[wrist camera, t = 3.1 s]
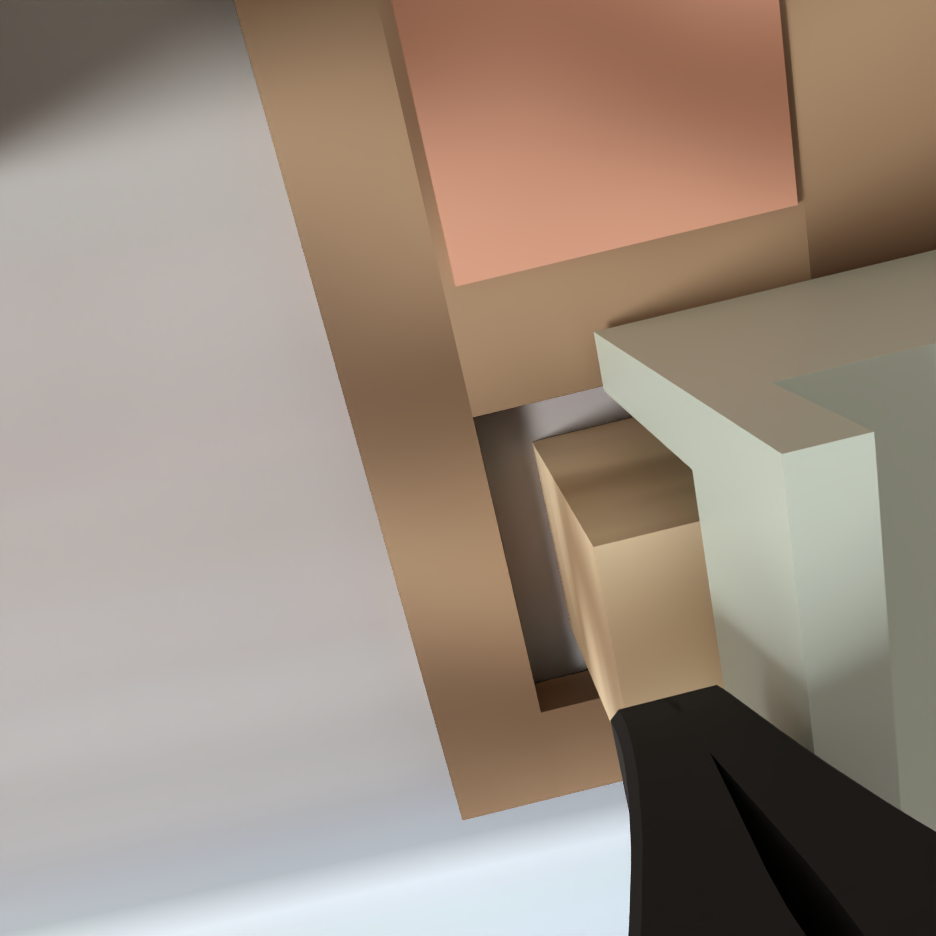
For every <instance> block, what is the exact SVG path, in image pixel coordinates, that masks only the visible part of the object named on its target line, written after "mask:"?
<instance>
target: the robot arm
mask: <svg viewBox="0 0 936 936" xmlns="http://www.w3.org/2000/svg"><path fill="white" fill-rule="evenodd" d="M610 721H611V726H612V731H613V736H614V741H615V745H616V750H617V755H618V760H619V765H620V770H621V774H622V779H623V784H624V789H625V794H626V799H627V803H628V808H629V814H630V834H631V884H630V915H629V936H936V831H934V830H932V829H931V828H929V827H927V826H926V825H924V824H922V823H921V822H919V821H917V820H916V819H914V818H912V817H911V816H909V815H907V814H906V813H904V812H903V811H901V810H899V809H898V808H896V807H895V806H893V805H891V804H890V803H888V802H886V801H885V800H883V799H882V798H880V797H879V796H877V795H876V794H874V793H873V792H871V791H869V790H868V789H866V788H865V787H863V786H862V785H860V784H859V783H857V782H856V781H854V780H853V779H851V778H850V777H848V776H847V775H845V774H843V773H842V772H840V771H839V770H837V769H836V768H834V767H833V766H831V765H830V764H828V763H827V762H825V761H824V760H822V759H821V758H820V757H818V756H817V755H815V754H814V753H812V752H811V751H809V750H808V749H806V748H805V747H804V746H802V745H801V744H799V743H798V742H797V741H795V740H794V739H792V738H791V737H789V736H788V735H787V734H785V733H784V732H782V731H781V730H780V729H778V728H777V727H775V726H774V725H773V724H771V723H770V722H769V721H767V720H766V719H764V718H763V717H762V716H760V715H759V714H758V713H756V712H755V711H753V710H752V709H751V708H749V707H748V706H747V705H745V704H744V703H743V702H741V701H740V700H739V699H737V698H736V697H734V696H733V695H732V694H730V693H729V692H728V691H726V690H724V689H723V688H721V687H720V686H718V685H714V686H710V687H706V688H702V689H698V690H694V691H690V692H686V693H682V694H678V695H674V696H670V697H666V698H662V699H658V700H654V701H650V702H646V703H642V704H638V705H634V706H630V707H627V708H623V709H619V710H618V711H617V712H616V714H615V715H614V716H613V718H612V719H611V720H610Z"/></svg>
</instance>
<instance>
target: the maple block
mask: <svg viewBox="0 0 936 936" xmlns="http://www.w3.org/2000/svg"><path fill="white" fill-rule="evenodd" d="M532 444H533V449H534V454H535V459H536V463H537V468H538V473H539V478H540V483H541V487H542V492H543V497H544V502H545V506H546V511H547V516H548V521H549V525H550V530H551V535H552V540H553V545H554V549H555V554H556V559H557V564H558V568H559V573H560V578H561V583H562V587H563V592H564V597H565V602H566V607H567V611H568V616H569V621H570V626H571V630H572V632H573V634H574V637H575V639H576V641H577V644H578V646H579V649H580V651H581V653H582V656H583V658H584V660H585V663H586V665H587V668H588V670H589V672H590V675H591V677H592V680H593V682H594V684H595V687H596V689H597V691H598V694H599V696H600V699H601V701H602V703H603V706H604V708H605V710H606V713H607V715H608V718H609V720H611V719H612V718H613V716H614V715H615V714H616V712H617V711H618V710H619V709H623V708H627V707H630V706H634V705H638V704H642V703H646V702H650V701H654V700H658V699H662V698H666V697H670V696H674V695H678V694H682V693H686V692H690V691H694V690H698V689H702V688H706V687H710V686H714V685H718V686H720V687H721V688H723V689H724V684H723V677H722V670H721V663H720V656H719V650H718V643H717V636H716V629H715V622H714V615H713V608H712V602H711V595H710V588H709V581H708V574H707V567H706V560H705V554H704V547H703V540H702V533H701V526H700V519H699V512H698V506H697V499H696V492H695V485H694V478H693V471H692V469H691V468H690V467H689V466H688V465H686V464H685V463H684V462H683V461H682V460H681V459H680V458H679V457H678V456H676V455H675V454H674V453H673V452H672V451H671V450H670V449H669V448H667V447H666V446H665V445H664V444H663V443H662V442H661V441H660V440H659V439H657V438H656V437H655V436H654V435H653V434H652V433H651V432H650V431H648V430H647V429H646V428H645V427H644V426H643V425H642V424H641V423H640V422H638V421H637V420H636V419H635V418H634V417H633V418H628V419H624V420H620V421H616V422H612V423H608V424H604V425H599V426H595V427H591V428H587V429H583V430H579V431H575V432H571V433H566V434H562V435H558V436H554V437H550V438H546V439H542V440H538V441H533V442H532ZM610 722H611V721H610Z"/></svg>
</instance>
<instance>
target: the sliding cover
mask: <svg viewBox="0 0 936 936" xmlns="http://www.w3.org/2000/svg"><path fill="white" fill-rule="evenodd" d="M594 337H595V343H596V348H597V354H598V360H599V365H600V371H601V377H602V382H603V388H604V391H605V392H606V393H607V394H608V395H609V396H610V397H612V398H613V399H614V400H615V401H616V402H617V403H618V404H619V405H621V406H622V407H623V408H624V409H625V410H626V411H627V412H628V413H629V414H631V415H632V416H633V417H634V418H635V419H636V420H637V421H638V422H640V423H641V424H642V425H643V426H644V427H645V428H646V429H647V430H648V431H650V432H651V433H652V434H653V435H654V436H655V437H656V438H657V439H659V440H660V441H661V442H662V443H663V444H664V445H665V446H666V447H667V448H669V449H670V450H671V451H672V452H673V453H674V454H675V455H676V456H678V457H679V458H680V459H681V460H682V461H683V462H684V463H685V464H686V465H688V466H689V467H690V468H691V469H692V471H693V478H694V485H695V492H696V499H697V506H698V512H699V519H700V526H701V533H702V540H703V547H704V554H705V560H706V567H707V574H708V581H709V588H710V595H711V602H712V608H713V615H714V622H715V629H716V636H717V643H718V650H719V656H720V663H721V670H722V677H723V684H724V690H726V691H728V692H729V693H730V694H732V695H733V696H734V697H736V698H737V699H739V700H740V701H741V702H743V703H744V704H745V705H747V706H748V707H749V708H751V709H752V710H753V711H755V712H756V713H758V714H759V715H760V716H762V717H763V718H764V719H766V720H767V721H769V722H770V723H771V724H773V725H774V726H775V727H777V728H778V729H780V730H781V731H782V732H784V733H785V734H787V735H788V736H789V737H791V738H792V739H794V740H795V741H797V742H798V743H799V744H801V745H802V746H804V747H805V748H806V749H808V750H809V751H811V752H812V753H814V754H815V755H817V756H818V757H820V758H821V759H822V760H824V761H825V762H827V763H828V764H830V765H831V766H833V767H834V768H836V769H837V770H839V771H840V772H842V773H843V774H845V775H847V776H848V777H850V778H851V779H853V780H854V781H856V782H857V783H859V784H860V785H862V786H863V787H865V788H866V789H868V790H869V791H871V792H873V793H874V794H876V795H877V796H879V797H880V798H882V799H883V800H885V801H886V802H888V803H890V804H891V805H893V806H895V807H896V808H898V809H899V810H901V811H903V812H904V813H906V814H907V815H909V816H911V817H912V818H914V819H916V820H917V821H919V822H921V823H922V824H924V825H926V826H927V827H929V828H931V829H932V830H934V831H936V250H933V251H928V252H924V253H920V254H916V255H912V256H908V257H903V258H899V259H895V260H891V261H887V262H883V263H878V264H874V265H870V266H866V267H862V268H858V269H853V270H849V271H845V272H841V273H837V274H833V275H828V276H824V277H820V278H816V279H812V280H808V281H803V282H799V283H795V284H791V285H787V286H783V287H778V288H774V289H770V290H766V291H762V292H758V293H753V294H749V295H745V296H741V297H737V298H733V299H728V300H724V301H720V302H716V303H712V304H708V305H703V306H699V307H695V308H691V309H687V310H683V311H678V312H674V313H670V314H666V315H662V316H658V317H653V318H649V319H645V320H641V321H637V322H633V323H628V324H624V325H620V326H616V327H612V328H608V329H603V330H599V331H595V332H594Z"/></svg>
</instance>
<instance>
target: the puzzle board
mask: <svg viewBox="0 0 936 936" xmlns="http://www.w3.org/2000/svg"><path fill="white" fill-rule="evenodd" d="M233 1H234V5H235V8H236V12H237V16H238V19H239V23H240V26H241V30H242V33H243V37H244V41H245V44H246V48H247V51H248V55H249V58H250V62H251V66H252V69H253V73H254V76H255V80H256V84H257V87H258V91H259V94H260V98H261V101H262V105H263V109H264V112H265V116H266V119H267V123H268V126H269V130H270V134H271V137H272V141H273V144H274V148H275V151H276V155H277V159H278V162H279V166H280V169H281V173H282V177H283V180H284V184H285V187H286V191H287V194H288V198H289V202H290V205H291V209H292V212H293V216H294V219H295V223H296V227H297V230H298V234H299V237H300V241H301V244H302V248H303V252H304V255H305V259H306V262H307V266H308V270H309V273H310V277H311V280H312V284H313V287H314V291H315V295H316V298H317V302H318V305H319V309H320V312H321V316H322V320H323V323H324V327H325V330H326V334H327V337H328V341H329V345H330V348H331V352H332V355H333V359H334V362H335V366H336V370H337V373H338V377H339V380H340V384H341V388H342V391H343V395H344V398H345V402H346V405H347V409H348V413H349V416H350V420H351V423H352V427H353V430H354V434H355V438H356V441H357V445H358V448H359V452H360V455H361V459H362V463H363V466H364V470H365V473H366V477H367V481H368V484H369V488H370V491H371V495H372V498H373V502H374V506H375V509H376V513H377V516H378V520H379V523H380V527H381V531H382V534H383V538H384V541H385V545H386V548H387V552H388V556H389V559H390V563H391V566H392V570H393V573H394V577H395V581H396V584H397V588H398V591H399V595H400V599H401V602H402V606H403V609H404V613H405V616H406V620H407V624H408V627H409V631H410V634H411V638H412V641H413V645H414V649H415V652H416V656H417V659H418V663H419V666H420V670H421V674H422V677H423V681H424V684H425V688H426V692H427V695H428V699H429V702H430V706H431V709H432V713H433V717H434V720H435V724H436V727H437V731H438V734H439V738H440V742H441V745H442V749H443V752H444V756H445V759H446V763H447V767H448V770H449V774H450V777H451V781H452V785H453V788H454V792H455V795H456V799H457V802H458V806H459V810H460V813H461V817H462V820H466V819H470V818H474V817H478V816H482V815H486V814H490V813H494V812H498V811H502V810H506V809H510V808H515V807H519V806H523V805H527V804H531V803H535V802H539V801H543V800H547V799H551V798H555V797H559V796H563V795H567V794H571V793H575V792H579V791H583V790H587V789H591V788H595V787H599V786H603V785H607V784H612V783H616V782H620V781H623V779H622V774H621V770H620V765H619V760H618V755H617V750H616V745H615V741H614V736H613V731H612V726H611V722H610V720H609V718H608V715H607V713H606V710H605V708H604V706H603V703H602V701H601V699H600V696H599V694H598V691H597V689H596V687H595V684H594V682H593V680H592V677H591V675H590V672H589V670H588V671H584V672H580V673H576V674H571V675H567V676H563V677H559V678H555V679H551V680H547V681H543V682H539V683H535V684H534V680H533V676H532V672H531V667H530V663H529V659H528V654H527V650H526V646H525V641H524V637H523V633H522V628H521V624H520V620H519V615H518V611H517V607H516V602H515V598H514V594H513V589H512V585H511V581H510V576H509V572H508V568H507V563H506V559H505V555H504V550H503V546H502V542H501V537H500V533H499V529H498V524H497V520H496V516H495V511H494V507H493V503H492V498H491V494H490V489H489V485H488V481H487V476H486V472H485V468H484V463H483V459H482V455H481V450H480V446H479V442H478V437H477V433H476V429H475V424H474V420H473V417H477V416H481V415H485V414H489V413H493V412H497V411H501V410H506V409H510V408H514V407H518V406H522V405H526V404H530V403H535V402H539V401H543V400H547V399H551V398H555V397H560V396H564V395H568V394H572V393H576V392H580V391H584V390H589V389H593V388H597V387H601V386H603V382H602V377H601V371H600V365H599V360H598V354H597V348H596V343H595V337H594V332H595V331H599V330H603V329H608V328H612V327H616V326H620V325H624V324H628V323H633V322H637V321H641V320H645V319H649V318H653V317H658V316H662V315H666V314H670V313H674V312H678V311H683V310H687V309H691V308H695V307H699V306H703V305H708V304H712V303H716V302H720V301H724V300H728V299H733V298H737V297H741V296H745V295H749V294H753V293H758V292H762V291H766V290H770V289H774V288H778V287H783V286H787V285H791V284H795V283H799V282H803V281H808V280H812V279H816V278H820V277H824V276H828V275H833V274H837V273H841V272H845V271H849V270H853V269H858V268H862V267H866V266H870V265H874V264H878V263H883V262H887V261H891V260H895V259H899V258H903V257H908V256H912V255H916V254H920V253H924V252H928V251H933V250H936V0H233Z"/></svg>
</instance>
